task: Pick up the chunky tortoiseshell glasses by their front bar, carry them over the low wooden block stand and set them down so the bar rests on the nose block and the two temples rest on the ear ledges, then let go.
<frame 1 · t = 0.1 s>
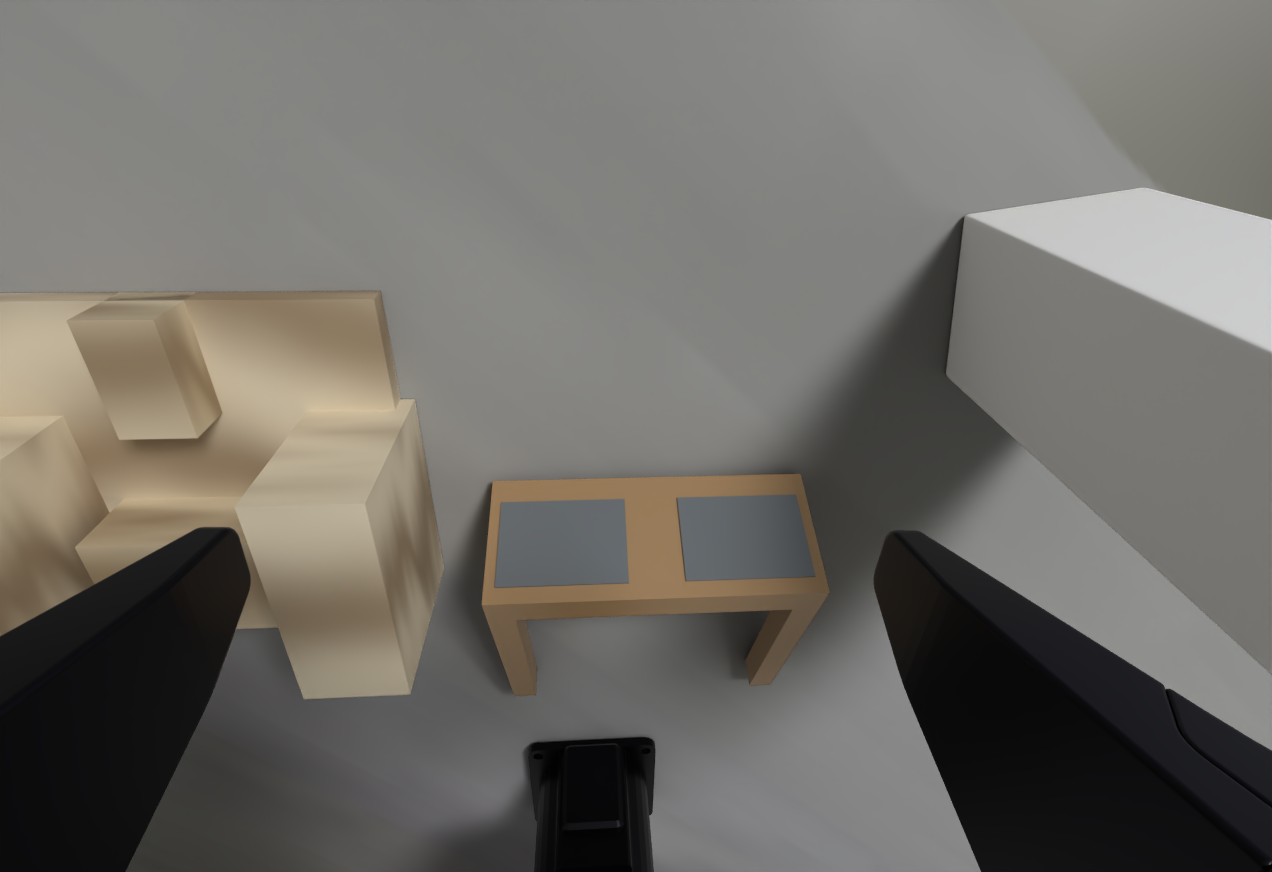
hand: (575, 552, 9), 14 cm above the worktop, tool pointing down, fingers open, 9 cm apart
wooden block stand: (178, 350, 22), on the worktop
glasses: (648, 487, 26), on the worktop, tilted 22°
milk: (1033, 285, 23), on the worktop
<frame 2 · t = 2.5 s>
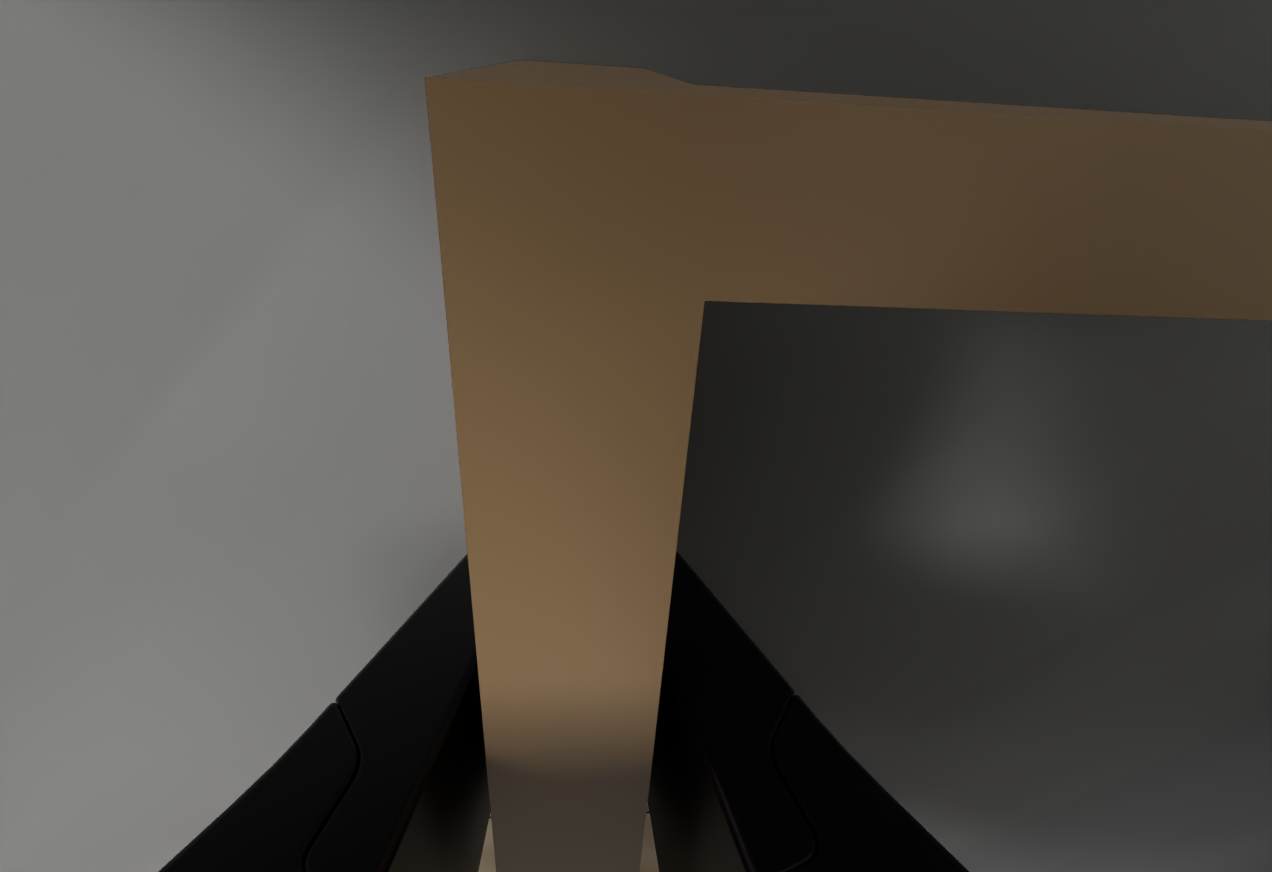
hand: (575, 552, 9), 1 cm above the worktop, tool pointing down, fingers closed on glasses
glasses: (576, 502, 10), on the worktop, touching gripper
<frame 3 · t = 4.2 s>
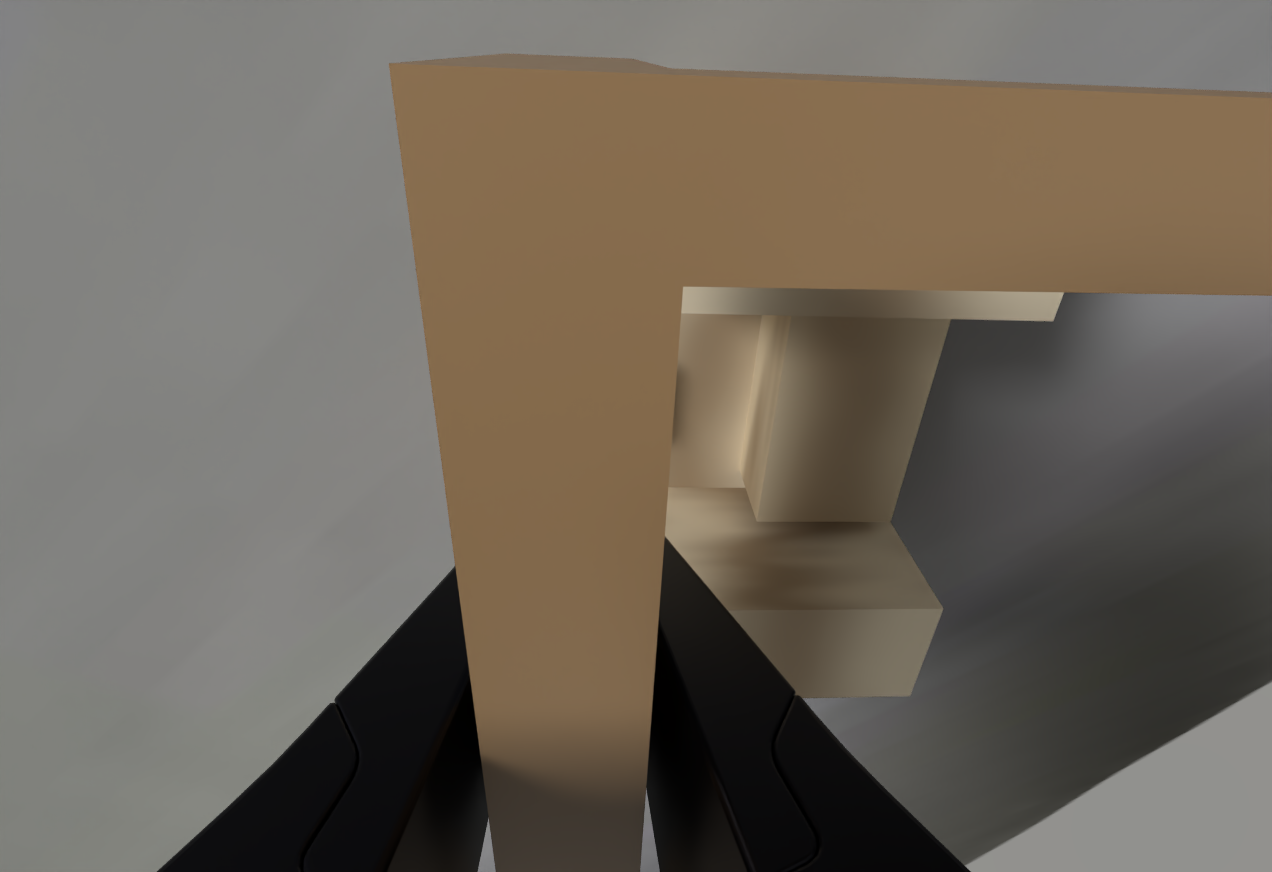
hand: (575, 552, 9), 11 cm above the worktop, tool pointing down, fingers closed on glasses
wooden block stand: (569, 364, 20), on the worktop
glasses: (574, 498, 10), point 10 cm above the worktop, touching gripper
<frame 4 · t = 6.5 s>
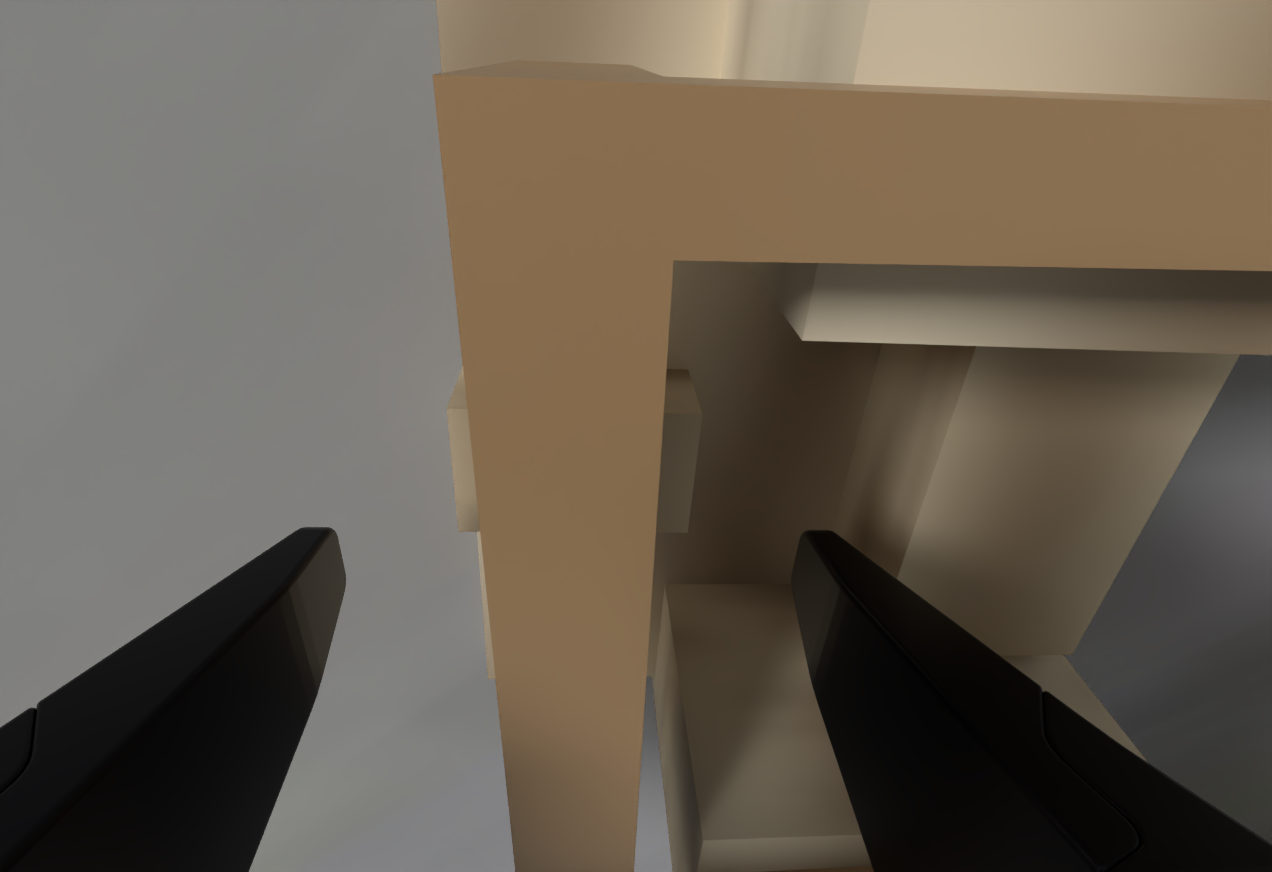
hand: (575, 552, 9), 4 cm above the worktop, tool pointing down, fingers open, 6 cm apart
wooden block stand: (577, 405, 13), on the worktop
glasses: (577, 476, 11), point 2 cm above the worktop, touching wooden block stand
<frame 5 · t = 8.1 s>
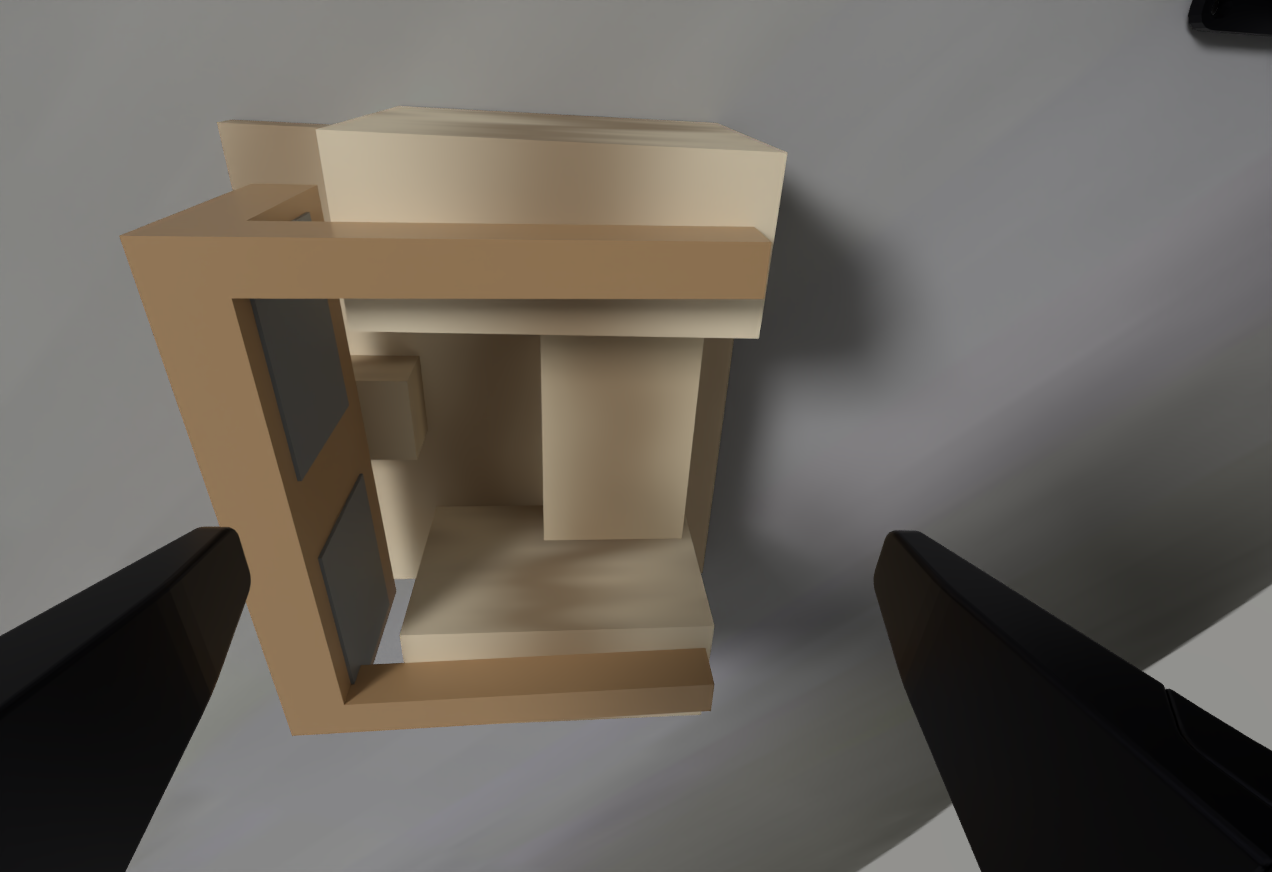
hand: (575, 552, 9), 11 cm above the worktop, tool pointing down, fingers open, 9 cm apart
wooden block stand: (359, 381, 20), on the worktop
glasses: (336, 422, 18), point 2 cm above the worktop, touching wooden block stand
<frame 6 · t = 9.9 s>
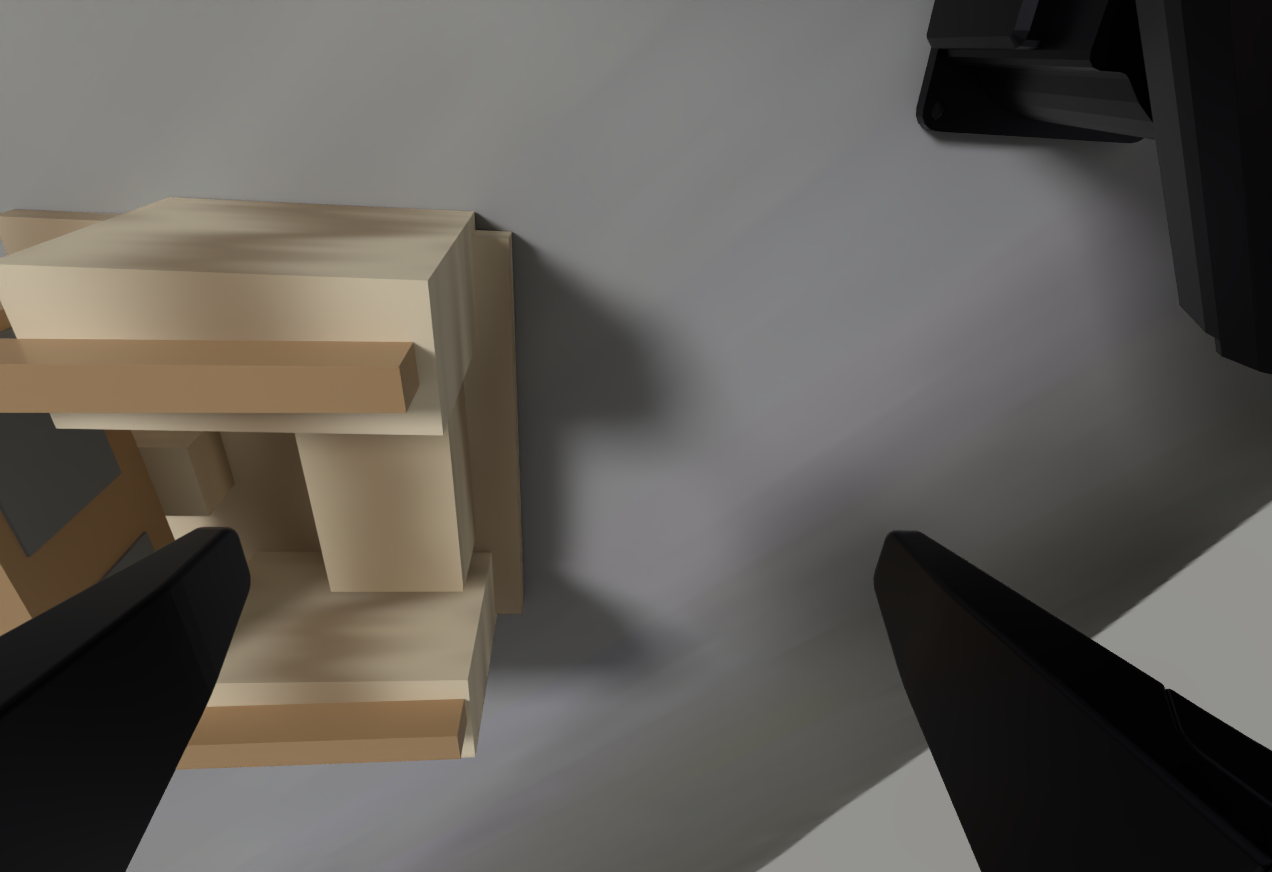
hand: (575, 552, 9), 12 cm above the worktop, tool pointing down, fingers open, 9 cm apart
wooden block stand: (171, 438, 21), on the worktop
glasses: (126, 482, 19), point 2 cm above the worktop, touching wooden block stand
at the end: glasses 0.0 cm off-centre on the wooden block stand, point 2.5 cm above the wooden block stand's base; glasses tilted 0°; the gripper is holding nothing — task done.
